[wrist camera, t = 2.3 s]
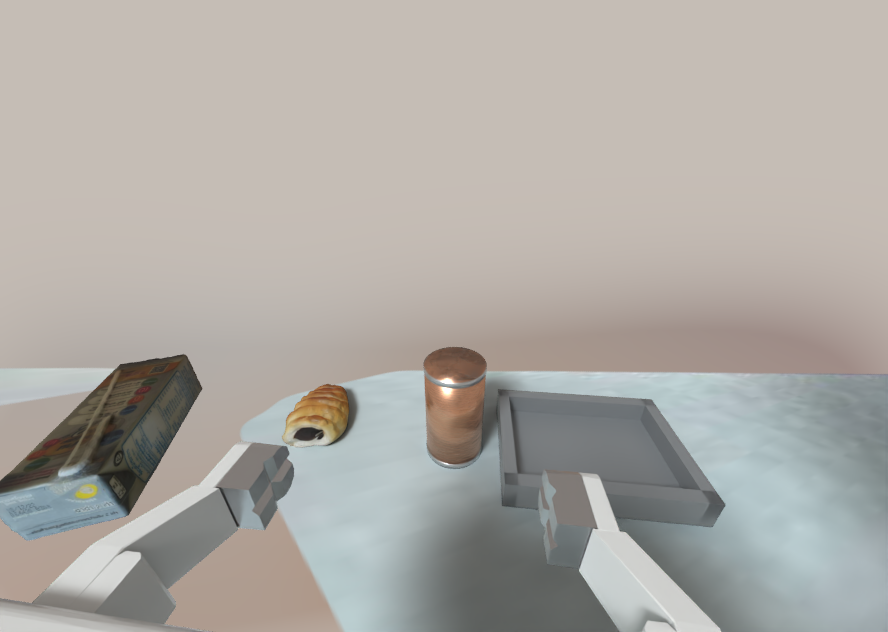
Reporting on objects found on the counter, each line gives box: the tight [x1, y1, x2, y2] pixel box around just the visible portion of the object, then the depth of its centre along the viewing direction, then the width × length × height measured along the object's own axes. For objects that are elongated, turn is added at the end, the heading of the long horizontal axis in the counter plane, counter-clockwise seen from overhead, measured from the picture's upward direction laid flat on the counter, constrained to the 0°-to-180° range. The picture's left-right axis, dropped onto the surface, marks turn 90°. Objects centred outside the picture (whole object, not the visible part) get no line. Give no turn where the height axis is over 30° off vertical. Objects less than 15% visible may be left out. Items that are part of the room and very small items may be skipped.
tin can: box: [424, 347, 487, 469], centre depth 33 cm, size 6×6×11 cm
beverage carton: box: [0, 355, 202, 540], centre depth 35 cm, size 8×19×7 cm, turn 17°
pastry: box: [282, 384, 349, 447], centre depth 39 cm, size 9×7×4 cm
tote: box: [497, 389, 725, 527], centre depth 34 cm, size 18×13×3 cm
